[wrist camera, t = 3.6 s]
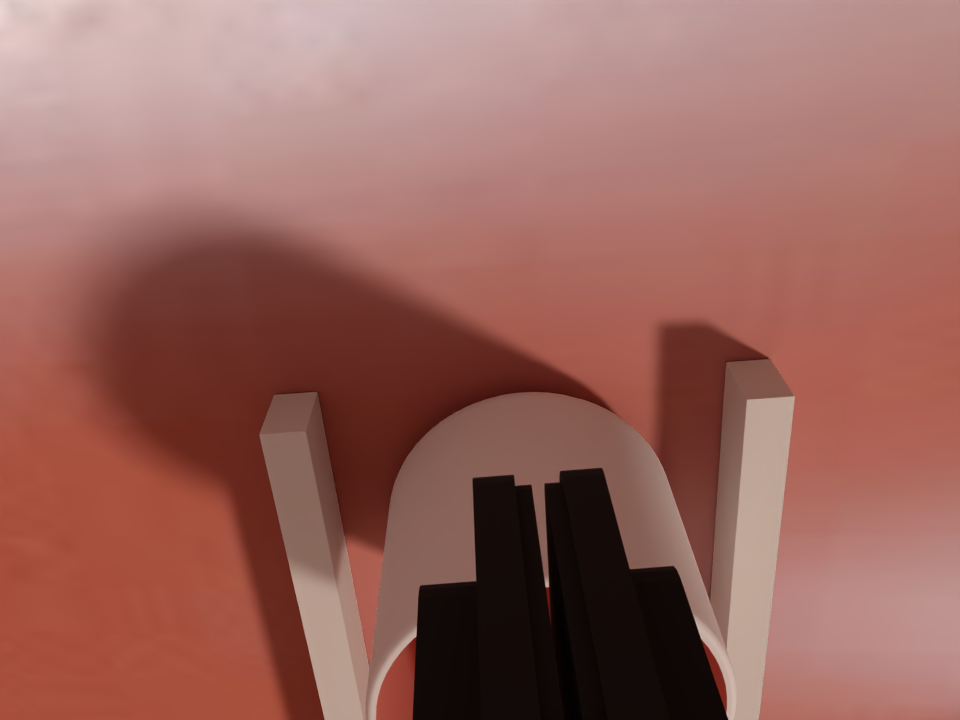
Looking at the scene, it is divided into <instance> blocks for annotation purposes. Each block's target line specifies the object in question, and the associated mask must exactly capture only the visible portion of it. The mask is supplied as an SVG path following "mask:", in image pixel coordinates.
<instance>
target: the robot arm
mask: <svg viewBox="0 0 960 720" xmlns="http://www.w3.org/2000/svg"><path fill="white" fill-rule="evenodd" d="M472 482H473V510H474V536H475V563H476V581H470V582H457V583H444V584H432V585H420V588H419V595H418V613H417V634H416V656H415V677H414V699H413V720H728V717H727V714H726V711H725V708H724V705H723V702H722V699H721V696H720V693H719V690H718V687H717V684H716V682H715V679H714V676H713V673H712V670H711V667H710V664H709V661H708V658H707V655H706V652H705V649H704V646H703V643H702V640H701V637H700V634H699V631H698V628H697V625H696V622H695V619H694V616H693V613H692V611H691V608H690V605H689V602H688V599H687V596H686V593H685V590H684V587H683V584H682V581H681V578H680V576H679V573H678V571H677V569H676V568H675V567H674V566H664V567H651V568H639V569H630V568H629V564H628V560H627V557H626V553H625V549H624V545H623V542H622V538H621V534H620V530H619V527H618V523H617V519H616V515H615V512H614V508H613V504H612V501H611V497H610V493H609V489H608V486H607V482H606V478H605V474H604V471H603V469H602V468H591V469H578V470H565V471H560V475H559V482H556V483H545V484H544V492H545V513H546V534H547V554H548V575H549V596H550V615H549V608H548V601H547V593H546V586H545V579H544V572H543V564H542V557H541V550H540V543H539V535H538V528H537V521H536V514H535V506H534V499H533V492H532V485H518V486H515V480H514V475H501V476H489V477H476V478H473V479H472ZM550 616H551V622H550Z"/></svg>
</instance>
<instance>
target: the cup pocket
mask: <svg viewBox="0 0 960 720" xmlns="http://www.w3.org/2000/svg"><path fill="white" fill-rule="evenodd" d="M794 399H795V396H794V394H793V393H792V391H791V390H790V388H789V387H788V385H787V384H786V382H785V381H784V379H783V378H782V376H781V374H780V373H779V371H778V370H777V368H776V367H775V365H774V364H773V362H772V361H771V359H763V360H749V361H735V362H726V370H725V385H724V400H723V415H722V430H721V445H720V460H719V475H718V489H717V504H716V519H715V534H714V549H713V564H712V579H711V594H710V603H711V606H712V609H713V612H714V615H715V618H716V621H717V623H718V626H719V629H720V632H721V635H722V638H723V641H724V644H725V647H726V649H727V652H728V655H729V658H730V661H731V664H732V667H733V671H734V675H735V679H736V689H737V700H736V710H735V715H734V719H733V720H759V713H760V704H761V695H762V686H763V677H764V668H765V659H766V650H767V641H768V632H769V623H770V614H771V605H772V596H773V587H774V578H775V569H776V561H777V552H778V543H779V534H780V525H781V516H782V507H783V498H784V489H785V480H786V471H787V462H788V453H789V444H790V435H791V426H792V417H793V408H794ZM259 436H260V441H261V445H262V449H263V454H264V458H265V463H266V467H267V471H268V476H269V480H270V484H271V489H272V493H273V497H274V502H275V506H276V510H277V515H278V519H279V523H280V528H281V532H282V536H283V541H284V545H285V549H286V554H287V558H288V562H289V567H290V571H291V575H292V580H293V584H294V589H295V593H296V597H297V602H298V606H299V610H300V615H301V619H302V623H303V628H304V632H305V636H306V641H307V645H308V649H309V654H310V658H311V662H312V667H313V671H314V675H315V680H316V684H317V688H318V693H319V697H320V701H321V706H322V710H323V715H324V719H325V720H366V713H365V710H366V694H367V686H368V678H369V664H368V659H367V653H366V648H365V643H364V637H363V632H362V627H361V621H360V616H359V611H358V605H357V600H356V595H355V589H354V584H353V579H352V573H351V568H350V563H349V557H348V552H347V547H346V541H345V536H344V531H343V525H342V520H341V515H340V509H339V504H338V499H337V493H336V488H335V483H334V477H333V472H332V467H331V461H330V456H329V451H328V445H327V440H326V435H325V429H324V424H323V419H322V413H321V408H320V403H319V397H318V392H306V393H293V394H279V395H274V396H273V399H272V402H271V404H270V407H269V410H268V412H267V415H266V418H265V420H264V423H263V425H262V428H261V431H260V433H259Z"/></svg>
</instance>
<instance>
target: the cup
mask: <svg viewBox="0 0 960 720" xmlns="http://www.w3.org/2000/svg"><path fill="white" fill-rule="evenodd" d="M591 468H602V469H603V471H604V474H605V478H606V482H607V486H608V489H609V493H610V497H611V501H612V504H613V508H614V512H615V515H616V519H617V523H618V527H619V530H620V534H621V538H622V542H623V545H624V549H625V553H626V557H627V560H628V564H629V568H630V569H639V568H651V567H664V566H674V567H675V568H676V569H677V571H678V573H679V576H680V578H681V581H682V584H683V587H684V590H685V593H686V596H687V599H688V602H689V605H690V608H691V611H692V613H693V616H694V619H695V622H696V625H697V628H698V631H699V634H700V637H701V640H702V643H703V646H704V649H705V652H706V655H707V658H708V661H709V664H710V667H711V670H712V673H713V676H714V679H715V682H716V684H717V687H718V690H719V693H720V696H721V699H722V702H723V705H724V708H725V711H726V714H727V717H728V720H733V719H734V715H735V710H736V700H737V689H736V679H735V675H734V671H733V667H732V664H731V661H730V658H729V655H728V652H727V649H726V647H725V644H724V641H723V638H722V635H721V632H720V629H719V626H718V623H717V621H716V618H715V615H714V612H713V609H712V606H711V603H710V600H709V598H708V595H707V592H706V589H705V586H704V583H703V580H702V577H701V575H700V572H699V569H698V566H697V563H696V560H695V557H694V554H693V551H692V549H691V546H690V543H689V540H688V537H687V534H686V531H685V528H684V525H683V522H682V520H681V517H680V514H679V511H678V508H677V505H676V502H675V499H674V496H673V494H672V491H671V488H670V485H669V482H668V479H667V476H666V474H665V471H664V469H663V467H662V465H661V463H660V461H659V459H658V457H657V455H656V454H655V452H654V451H653V449H652V448H651V446H650V445H649V444H648V443H647V441H646V440H645V439H644V438H643V437H642V436H641V435H640V434H639V433H638V432H637V431H636V430H635V429H634V428H633V427H632V426H631V425H629V424H628V423H627V422H626V421H624V420H623V419H621V418H620V417H619V416H617V415H616V414H614V413H612V412H610V411H609V410H607V409H605V408H603V407H601V406H599V405H596V404H594V403H591V402H589V401H586V400H582V399H578V398H575V397H571V396H567V395H563V394H556V393H548V392H521V393H512V394H505V395H500V396H496V397H492V398H488V399H485V400H482V401H479V402H477V403H474V404H471V405H469V406H467V407H465V408H463V409H461V410H459V411H457V412H455V413H453V414H452V415H450V416H448V417H447V418H445V419H444V420H442V421H441V422H439V423H438V424H437V425H436V426H434V427H433V428H432V429H431V430H430V431H428V432H427V433H426V434H425V435H424V436H423V438H422V439H421V440H420V441H419V442H418V443H417V444H416V445H415V447H414V448H413V449H412V451H411V452H410V453H409V455H408V456H407V458H406V460H405V461H404V463H403V465H402V467H401V468H400V471H399V473H398V475H397V478H396V480H395V483H394V487H393V490H392V494H391V499H390V506H389V514H388V522H387V530H386V539H385V547H384V555H383V563H382V571H381V580H380V588H379V596H378V604H377V612H376V621H375V629H374V637H373V645H372V653H371V661H370V669H369V678H368V686H367V694H366V710H365V713H366V720H413V699H414V677H415V656H416V634H417V613H418V595H419V588H420V585H432V584H444V583H457V582H470V581H476V563H475V536H474V510H473V482H472V479H473V478H476V477H489V476H501V475H514V480H515V486H518V485H532V492H533V499H534V506H535V514H536V521H537V528H538V535H539V543H540V550H541V557H542V564H543V572H544V579H545V586H546V593H547V601H548V608H549V615H550V596H549V575H548V554H547V534H546V513H545V492H544V484H545V483H556V482H559V475H560V471H565V470H578V469H591ZM550 622H551V616H550Z"/></svg>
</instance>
